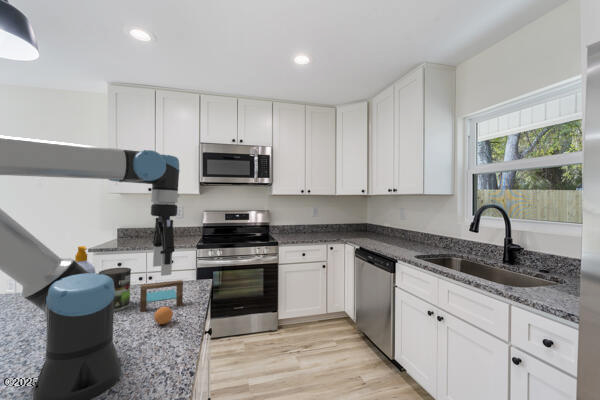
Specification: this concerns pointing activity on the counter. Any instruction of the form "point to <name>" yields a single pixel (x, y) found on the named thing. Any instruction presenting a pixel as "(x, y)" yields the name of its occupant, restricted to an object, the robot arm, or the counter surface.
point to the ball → (163, 315)
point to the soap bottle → (84, 259)
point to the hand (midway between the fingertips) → (161, 270)
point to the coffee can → (120, 286)
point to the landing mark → (161, 295)
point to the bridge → (160, 285)
